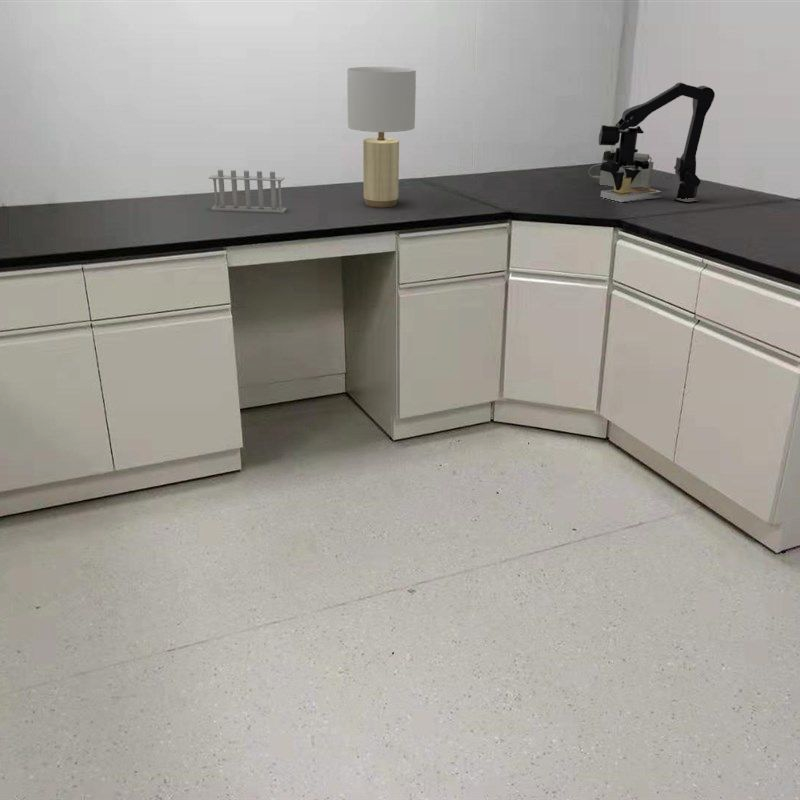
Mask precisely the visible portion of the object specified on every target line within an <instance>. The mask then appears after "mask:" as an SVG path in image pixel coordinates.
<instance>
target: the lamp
mask: <svg viewBox="0 0 800 800" xmlns="http://www.w3.org/2000/svg"><path fill="white" fill-rule="evenodd" d="M416 72H417V69H415V68H410V67H409V68H407V67H398V66H397V67H395V66H394V67H393V66H358V67H349V68H347V73H346V74H347V80H346V81H347V82H346V84H347V85H346V86H347V94H346V95H347V127H348V129H350V130H354V131H359V132H369V133H374V132H375V133H378V134H377V135H378V137H374V136H373V137H366V138H364V139H363V143H362V144H363V148H362V149H363V150H362V151H363V154H362V155H363V159H362V161H363V162H362V163H363V198H364V202H365V205H366V206H368V207H371V208H380V209H381V208H383V209H384V208H393V207H395V206H397V203H398V202H397V201H398V199H399V187H400V186H399V185H400V183H399V182H400V181H399V177H400V176H399V175H400V174H399V173H400V172H399V171H400V167H399V166H400V140H399V139H398V138H394V137H385V133H398V132H407V131H412V130H414V129H415V123H416V122H415V121H416V94H417V93H416V92H417V91H416V89H417V88H416V87H417V84H416V82H417V80H416V77H417V74H416Z"/></svg>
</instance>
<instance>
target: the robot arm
mask: <svg viewBox="0 0 800 800" xmlns="http://www.w3.org/2000/svg"><path fill="white" fill-rule="evenodd" d="M715 95H716V94H715V91H714V90H713V89H712V88H711V87H709V86H706V85H700V86H694V85H690V84H686V83H684V82H682V81H681V82H677V83H675V85H673V86H672V87H670V88H668V89H666V90H664V91H663V92H661V93H659V94H658V95H656V96H655V97H653V98H651V99H649V100H648V101H646V102H643V103H641V104H637V105H634V106H632V107H629V108H626V109H625V110H624V111H623V112H622V114H621V118H620V119H619V120H618V122H617V123H616V124H615V125H604V124H602V125H601V127H600V131H599V134H598V145H599V146H616V144H618V143H619V146H618V147H616V148H615V151H616V152H614V153H611V151H606V150H605V151H606V152H605V151H603V155H602V158H603V159H604V161H607V162H603V163H602V162H601V163H600V164H601V165H600V171H601V170H602V171H606V172H610V173H611V174H612V175H613V178H614V182H615V187H616V190H619V188H620V186H621V182H622V179H623V176H624V172H622V168H624V169H625V172H626V177H630V178H631V183H632V182H633V180H634V179H635V177H636V176H637V174H638V173H639V172H641V170H638V167H641V168H642V169H648V168H649V162H648V161H649V160H648V161H647V160H642V159H634V156H635V153H638V149H637V140H638V134H644V133H645V132H644V131H643V130H642V127H641V126H640V125H639V124H641V123H642V122H644V120H645V119H647V117H648V116H650V115H651V114H652V113H653V112H655V111H657V110H659V109H660V108H662V107H664V106H666V105H668V104H669V103H671V102H672V101H674V100H676V99H679V98H680V97H681V96H684V97H687V98H691V99H692V116H691V120H690V125H689V129H688V132H687V138H686V140H685V145H684V149H683V153H682V155H681V156H680V157H676V159H675V165H674V167H673V169H674V173H675V175H676V177H678V178H679V186H678V189H677V195H676V198H681V199H685V198H687V199H688V198H695V197H696V198H697V192H698V187H699V186H700V184H701V183H702V182H701V180H700V178H699V177H698V176H697V174H696V172H697V151H698V148H699V147H698V146H699V143H700V140H701V139H700V138H701V136H702V131H703V127H704V122H705V119H706V115H707V113H708V111H709V110H710V108H711V106H712V105H713V102H714V99H715Z"/></svg>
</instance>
